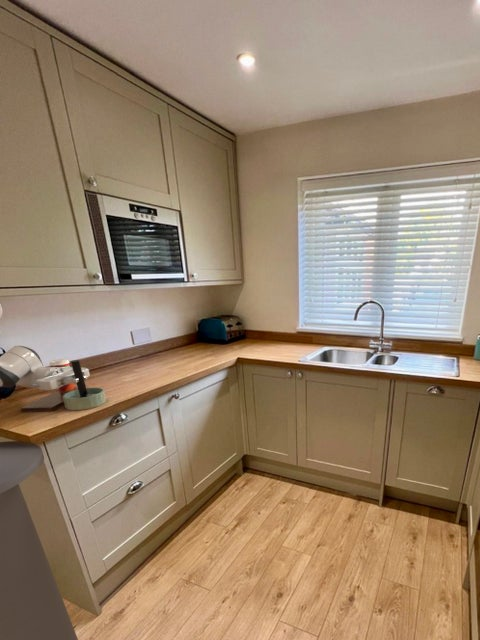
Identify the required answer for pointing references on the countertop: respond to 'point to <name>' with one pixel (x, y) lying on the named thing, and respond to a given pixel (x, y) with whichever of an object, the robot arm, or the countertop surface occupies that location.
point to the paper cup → (57, 364)
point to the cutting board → (46, 403)
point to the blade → (81, 383)
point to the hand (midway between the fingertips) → (81, 379)
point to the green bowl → (84, 399)
